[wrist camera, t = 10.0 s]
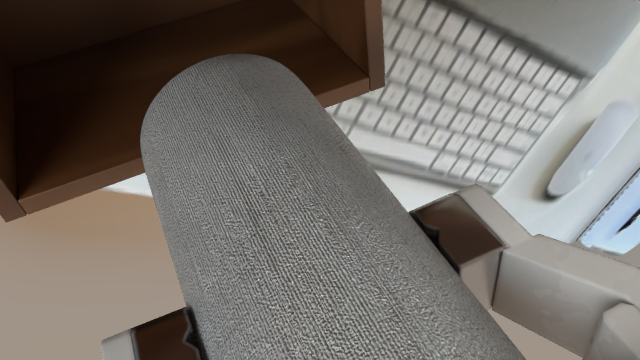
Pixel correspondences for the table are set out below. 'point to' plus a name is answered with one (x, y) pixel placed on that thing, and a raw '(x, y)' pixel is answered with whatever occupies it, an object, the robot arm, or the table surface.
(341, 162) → the gray cylinder
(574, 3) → the table surface
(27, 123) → the storage box
